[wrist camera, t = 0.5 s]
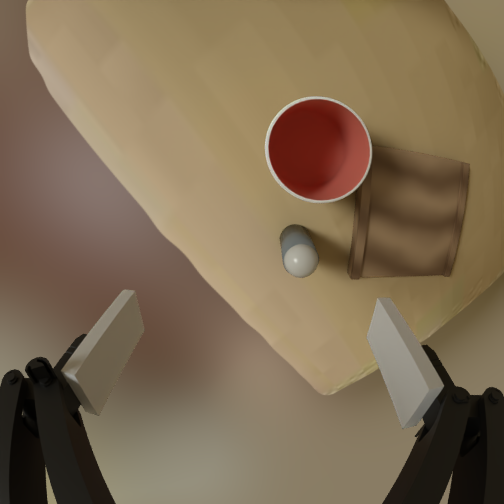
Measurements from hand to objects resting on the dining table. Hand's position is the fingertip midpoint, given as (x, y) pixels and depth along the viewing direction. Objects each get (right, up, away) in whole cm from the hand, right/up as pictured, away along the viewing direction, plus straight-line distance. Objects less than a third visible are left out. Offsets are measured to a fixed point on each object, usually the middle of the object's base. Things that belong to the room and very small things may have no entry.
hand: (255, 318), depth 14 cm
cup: (+6, +16, +18) cm, 25 cm away
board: (+22, +9, +20) cm, 31 cm away
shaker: (+6, +5, +22) cm, 24 cm away
